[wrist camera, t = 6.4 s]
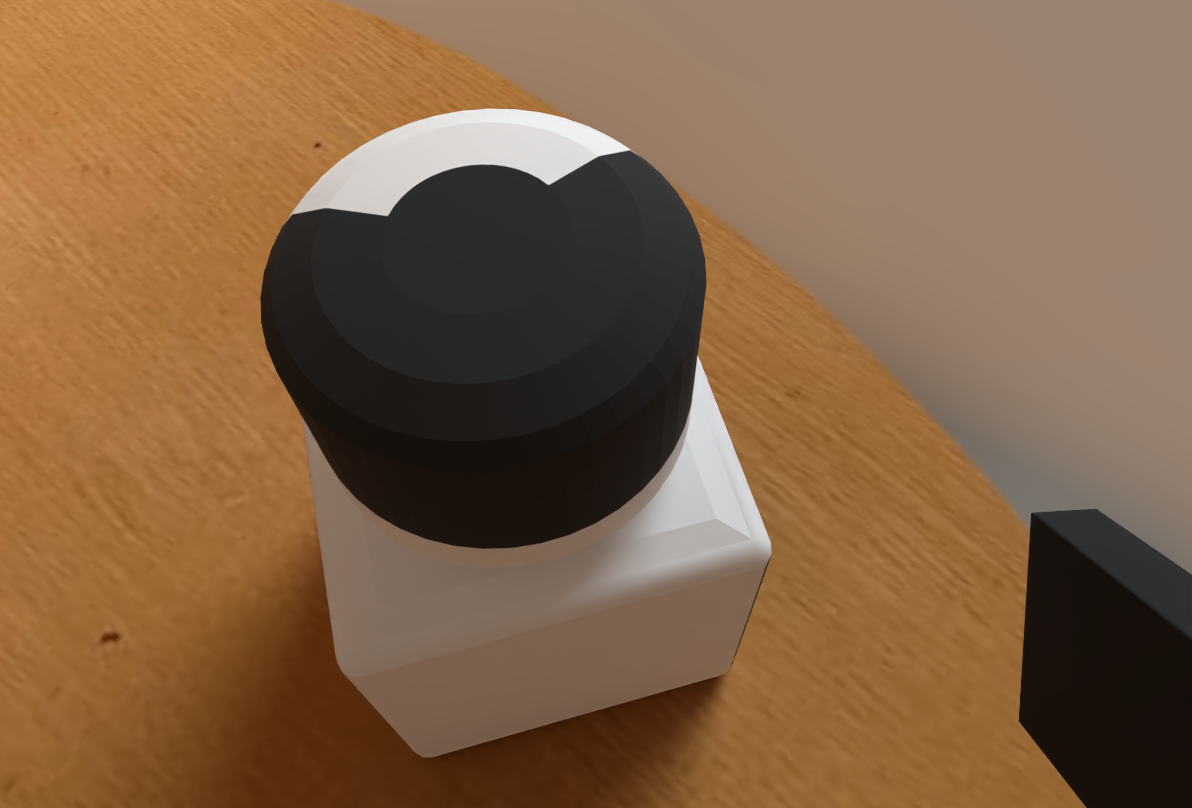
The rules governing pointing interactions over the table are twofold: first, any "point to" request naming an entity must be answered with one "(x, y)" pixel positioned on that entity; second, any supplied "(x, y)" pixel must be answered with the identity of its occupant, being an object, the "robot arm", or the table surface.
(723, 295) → the table surface
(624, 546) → the medicine bottle
